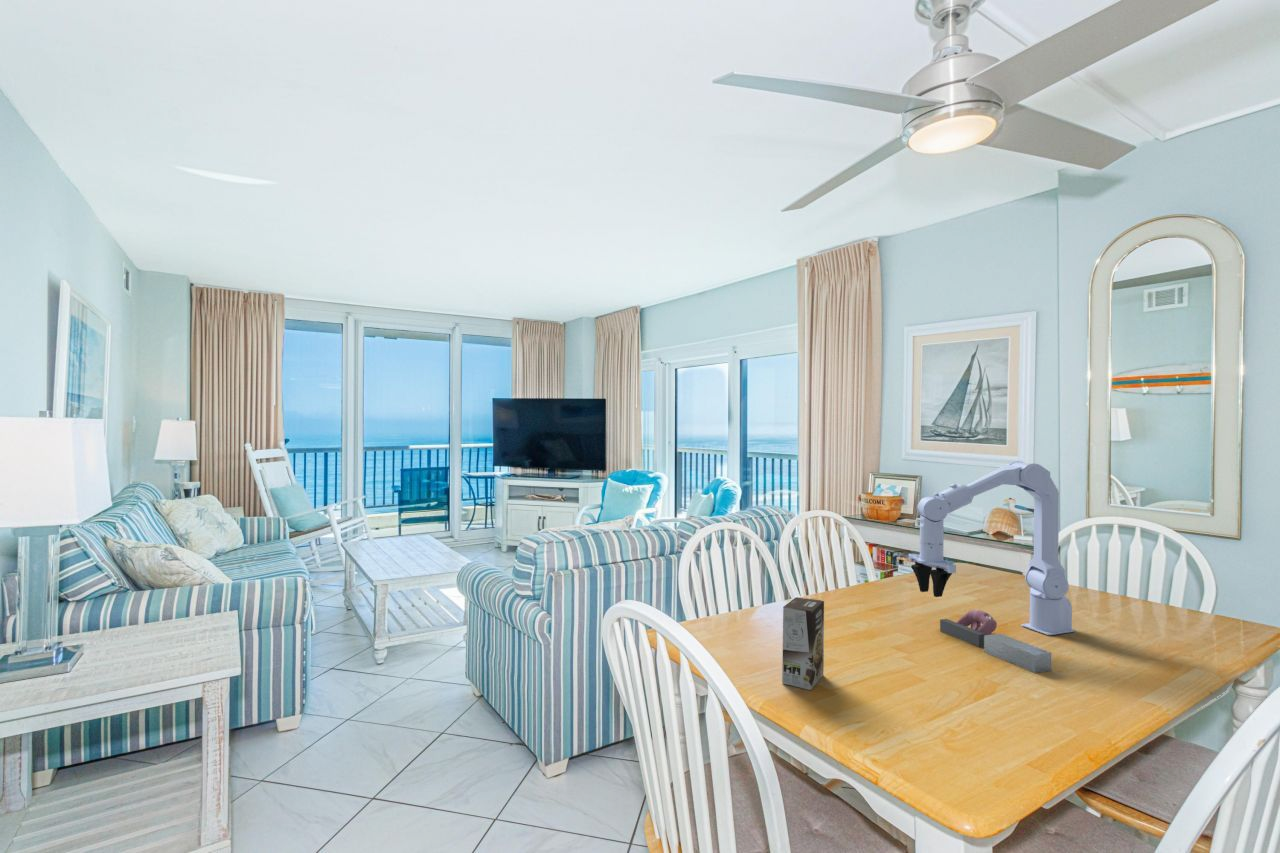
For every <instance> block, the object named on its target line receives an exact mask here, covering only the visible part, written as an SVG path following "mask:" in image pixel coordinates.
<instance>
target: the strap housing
mask: <svg viewBox="0 0 1280 853" xmlns="http://www.w3.org/2000/svg"><path fill="white" fill-rule="evenodd" d="M983 648H984V649H983V652H984V653H986V654H988V655H991V656H992V657H996V658H998V659H1000V660H1003V661H1004V660H1005V662H1007V663H1009V662H1010V664H1011V665H1014V666H1016V665H1017V667H1019V668H1021V667H1022V668H1021V669H1023V668H1024V670H1026V669H1027V670H1026V671H1028V670H1029V672H1030V673H1033V674H1037V673H1038V672H1040V673H1045V672H1051V671H1052V652H1051V651H1048V650H1045V649H1043V648H1039V647H1037V646H1034V645H1031V644H1029V643H1027V642H1024V641H1021V640H1019V639H1016V638H1014V637H1010V636H1008V635H1005V634H1003V633H1000V632H999V633H993V634H992V633H991V634H990V635H984V646H983ZM1038 674H1039V673H1038Z"/></svg>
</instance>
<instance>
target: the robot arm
mask: <svg viewBox="0 0 1280 853" xmlns="http://www.w3.org/2000/svg"><path fill="white" fill-rule="evenodd" d="M1003 485H1009V486H1016V487H1018V488H1021V489H1023V490H1024V491H1026V493H1028V494H1029V495H1031V496H1032V498H1033V557H1032V558H1031V559H1030V560H1029V561H1028V568H1027V570H1026V572H1025V574H1024V575H1025V576H1024V581H1025V583H1026V584H1027V586H1029V622H1028V623H1027V622H1026V623H1022V624H1021V625H1020V626H1021V627H1024V628H1026V629H1030V630H1031V631H1035V632H1038V633H1041V634H1043V635H1047V636H1054V635H1061V634H1062V635H1063V634H1069V633H1074V632H1076V629H1074V628H1073V606H1072V603H1071V600H1070V599H1069V598H1068V597H1067V596H1066V595H1067V594H1068V592H1069V586H1070V585H1069V581H1068V580H1067V578H1066V574H1065V573H1066V570H1065V569H1064V566H1063V565H1062V563H1061V562H1060V560H1059V531H1060V530H1059V526H1060V525H1059V524H1060V523H1059V518H1060V515H1059V512H1060V510H1059V508H1060V506H1059V505H1060V499H1059V498H1060V493H1059V490H1058V488H1057V485H1056V484H1055V483H1054V481H1053V479H1052V477H1051V471H1049V470H1048V468H1047V469H1046V468H1045V467H1044V466H1042V465H1041V464H1039V463H1034V462H1033V463H1028V462H1023V461H1019V460H1016V461H1012V462H1010V463H1008V464H1004V465H1002V466H1000V467H998V468H997V469H994V470H993V471H991V472H989V473H987V474H985V475H983V476H982V477H980V478H978V479H976V480H974V481H972V482H970V483H968V484H967V485H966V484H963V483H957V484H956V483H952V484H950V485H949V487H948V488H945V489H944V490H942V491H940V492H934V493H932V495H933V496H925V497H923V498H921V499H920V501H919V502H918V504H917V506H916V507H915V508H916V512H917V513H918V515H919V554H918V553H917V554H916V553H908V562H910V563H912V562H914V564H911V567H910V568H911V570H912V571H913V574H914V575H915V577H916V581H917V583H918V587H919V590H920V592H921V593H926V592H927V593H928V592H929V589H930V577H931V580H932V591H933V592H932V593H933V597H935V598H939V597H943V594H944V590H945V587H946V585H947V583H948V581H949V579H950V577H951V576H952V574H956V573H957V565H956V564H953V563H951V562H948V561H946V560H945V559H944V537H945V536H944V519H946V518H947V516H948V514H950V513H952V512H954V511H957V510H959V509H960V508H963V507H966V506H968V505H970V504H972V502H973V500H974V497H975V496H978V495H980V494H983V493H985V492H988V491H991V490H993V489H995V488H998V487H1000V486H1003Z"/></svg>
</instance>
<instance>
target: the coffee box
mask: <svg viewBox="0 0 1280 853" xmlns="http://www.w3.org/2000/svg"><path fill="white" fill-rule="evenodd" d="M782 614H783V615H782V667H781V668H782V669H781V670H782V673H781V674H782V675H781V679H782V680H781V683H782V684H784V685H789V686H793V687H796V688H801V689H802V690H803V689H804V690H808V691H811V690H813V688H814V687H815V686H816V685H817V683H819V681H820V680H821V679H822V678H823V676H824V667H825V665H824V664H825V663H824V659H825V658H824V657H825V656H824V654H825V653H824V652H825V651H824V650H825V648H824V645H825V643H824V642H825V640H824V638H825V634H824V633H825V632H824V630H825V628H824V627H825V626H824V625H825V624H824V623H825V601H824V600H821V599H814V598H813V599H812V598H803V597H794V598H793V599H792V600H791V601H790V602H788V603H786V604H785V605H784V606H783V608H782Z"/></svg>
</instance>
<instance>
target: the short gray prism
mask: <svg viewBox="0 0 1280 853" xmlns="http://www.w3.org/2000/svg"><path fill="white" fill-rule="evenodd" d="M939 629H940V630H939V632H942V633H944V634H947V635H949V636H951V637H954V638H956V639H959V640H960V641H963V642H965V643H968V644H970V645H972V646H975V647H978V648H981V647H982V648H984V635H985V634H984V633H982V632H979V631H977V630H974V629H972V628H971V627H969V626H967V627H966V626H964V625H961V624H959V623H957V621H954V620H950V619H947V618H943V619H939Z"/></svg>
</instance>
